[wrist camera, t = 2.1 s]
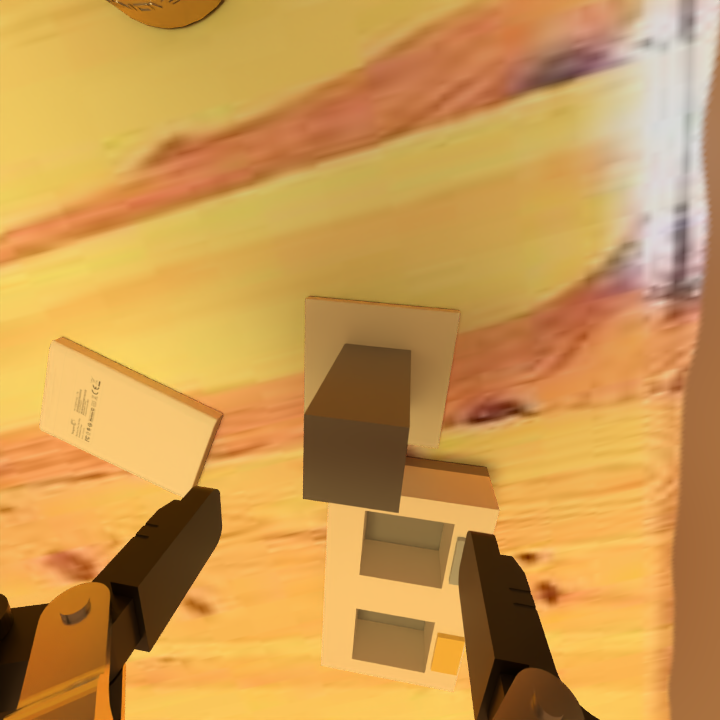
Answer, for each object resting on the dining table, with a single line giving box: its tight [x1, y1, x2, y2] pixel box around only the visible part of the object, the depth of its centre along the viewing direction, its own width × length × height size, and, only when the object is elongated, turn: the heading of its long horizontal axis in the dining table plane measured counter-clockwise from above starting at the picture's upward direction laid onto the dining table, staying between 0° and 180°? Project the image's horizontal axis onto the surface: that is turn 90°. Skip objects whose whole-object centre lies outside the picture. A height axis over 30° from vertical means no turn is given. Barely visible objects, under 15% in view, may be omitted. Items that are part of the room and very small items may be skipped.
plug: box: [303, 343, 411, 513], centre depth 19 cm, size 4×4×9 cm
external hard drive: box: [40, 337, 223, 498], centre depth 27 cm, size 2×8×12 cm
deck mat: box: [304, 296, 460, 448], centre depth 23 cm, size 9×9×1 cm
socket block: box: [321, 457, 499, 692], centre depth 26 cm, size 17×10×4 cm, turn 176°
